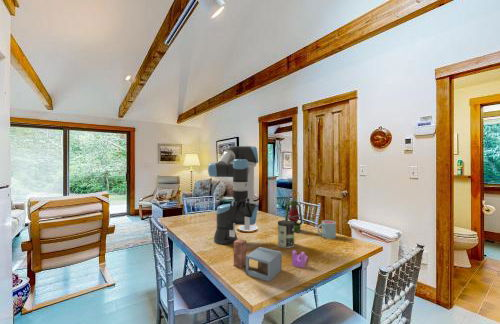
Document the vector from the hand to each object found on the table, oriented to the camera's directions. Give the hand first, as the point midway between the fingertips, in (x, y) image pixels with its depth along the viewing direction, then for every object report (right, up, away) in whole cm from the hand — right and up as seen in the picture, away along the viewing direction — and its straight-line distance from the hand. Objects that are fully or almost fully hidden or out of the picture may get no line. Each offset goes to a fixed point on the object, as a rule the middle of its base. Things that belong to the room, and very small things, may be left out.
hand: (240, 233), depth 112 cm
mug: (+58, -17, +44) cm, 74 cm away
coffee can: (+27, -17, +28) cm, 43 cm away
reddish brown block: (+6, -16, -3) cm, 18 cm away
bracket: (+31, -17, +5) cm, 36 cm away
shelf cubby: (+12, -16, -7) cm, 21 cm away
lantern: (+38, -17, +58) cm, 71 cm away
